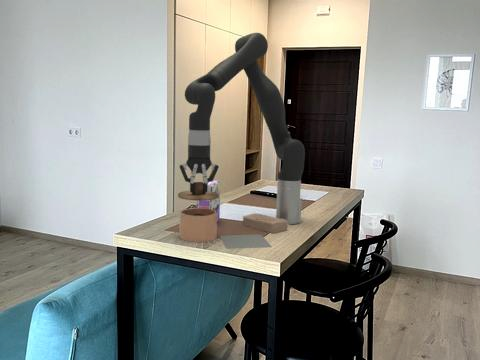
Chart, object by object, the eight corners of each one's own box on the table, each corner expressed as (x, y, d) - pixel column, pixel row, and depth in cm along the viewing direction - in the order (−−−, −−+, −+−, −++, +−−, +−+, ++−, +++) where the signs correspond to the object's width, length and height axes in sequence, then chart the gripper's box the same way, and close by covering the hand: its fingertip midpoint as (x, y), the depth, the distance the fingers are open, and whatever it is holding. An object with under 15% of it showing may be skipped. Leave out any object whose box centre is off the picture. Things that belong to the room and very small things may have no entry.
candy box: (211, 228, 173) (211, 185, 171) (195, 227, 174) (196, 184, 172) (220, 220, 187) (220, 179, 184) (205, 219, 188) (206, 179, 185)
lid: (215, 192, 167) (216, 179, 167) (222, 200, 154) (222, 185, 153) (176, 192, 165) (176, 179, 164) (179, 200, 151) (179, 186, 150)
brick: (241, 226, 179) (241, 214, 178) (256, 223, 185) (256, 211, 184) (273, 236, 167) (273, 223, 166) (288, 232, 173) (288, 219, 172)
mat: (260, 235, 166) (261, 234, 166) (271, 248, 151) (271, 246, 151) (219, 236, 163) (219, 235, 163) (226, 249, 148) (226, 248, 148)
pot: (213, 232, 169) (213, 207, 167) (218, 241, 156) (219, 215, 155) (178, 233, 166) (178, 208, 165) (181, 243, 154) (181, 216, 153)
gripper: (218, 142, 161) (217, 191, 164) (177, 142, 159) (177, 192, 161) (221, 144, 154) (220, 195, 157) (178, 144, 151) (178, 196, 154)
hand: (198, 193), depth 159 cm, fingers closed on lid, 3 cm apart
